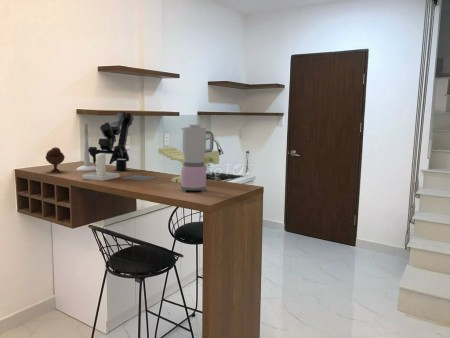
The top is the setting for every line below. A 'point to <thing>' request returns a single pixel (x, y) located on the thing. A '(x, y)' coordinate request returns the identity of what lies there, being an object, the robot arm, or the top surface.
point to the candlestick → (86, 154)
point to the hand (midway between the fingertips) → (101, 163)
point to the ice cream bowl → (55, 158)
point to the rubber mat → (139, 177)
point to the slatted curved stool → (178, 155)
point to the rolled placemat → (100, 165)
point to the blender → (195, 157)
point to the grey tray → (94, 177)
